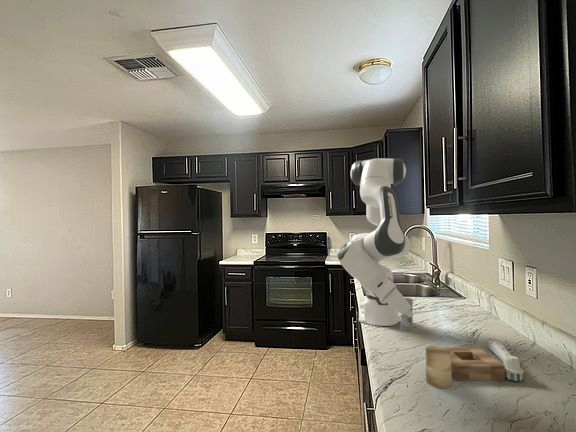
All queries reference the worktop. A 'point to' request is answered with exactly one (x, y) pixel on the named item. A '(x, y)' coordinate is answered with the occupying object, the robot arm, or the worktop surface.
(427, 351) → the fat post
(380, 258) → the robot arm
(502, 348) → the toothbrush head
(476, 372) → the socket block
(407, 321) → the cylinder
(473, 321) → the worktop surface
